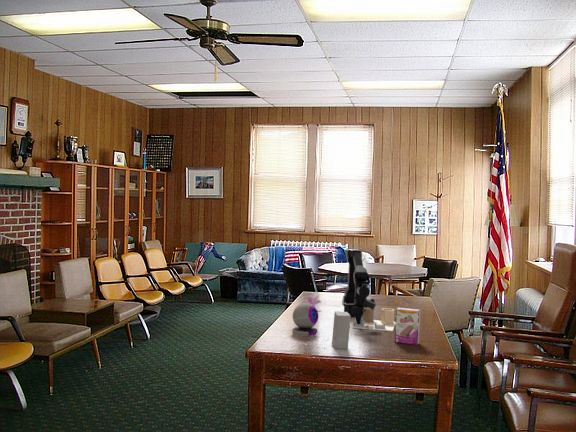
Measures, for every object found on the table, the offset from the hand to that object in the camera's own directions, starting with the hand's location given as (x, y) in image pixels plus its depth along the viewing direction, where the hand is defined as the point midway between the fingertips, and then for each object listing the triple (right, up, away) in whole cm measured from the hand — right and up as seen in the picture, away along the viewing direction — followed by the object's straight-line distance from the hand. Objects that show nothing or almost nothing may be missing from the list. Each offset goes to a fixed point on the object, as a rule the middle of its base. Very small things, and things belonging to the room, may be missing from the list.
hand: (359, 323), depth 315 cm
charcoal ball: (+6, +5, +13) cm, 15 cm away
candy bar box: (+19, -4, -30) cm, 36 cm away
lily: (-24, 0, +42) cm, 49 cm away
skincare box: (-14, -4, -41) cm, 44 cm away
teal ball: (0, +2, 0) cm, 2 cm away
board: (+9, -2, +6) cm, 11 cm away
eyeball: (-30, -2, -15) cm, 33 cm away
